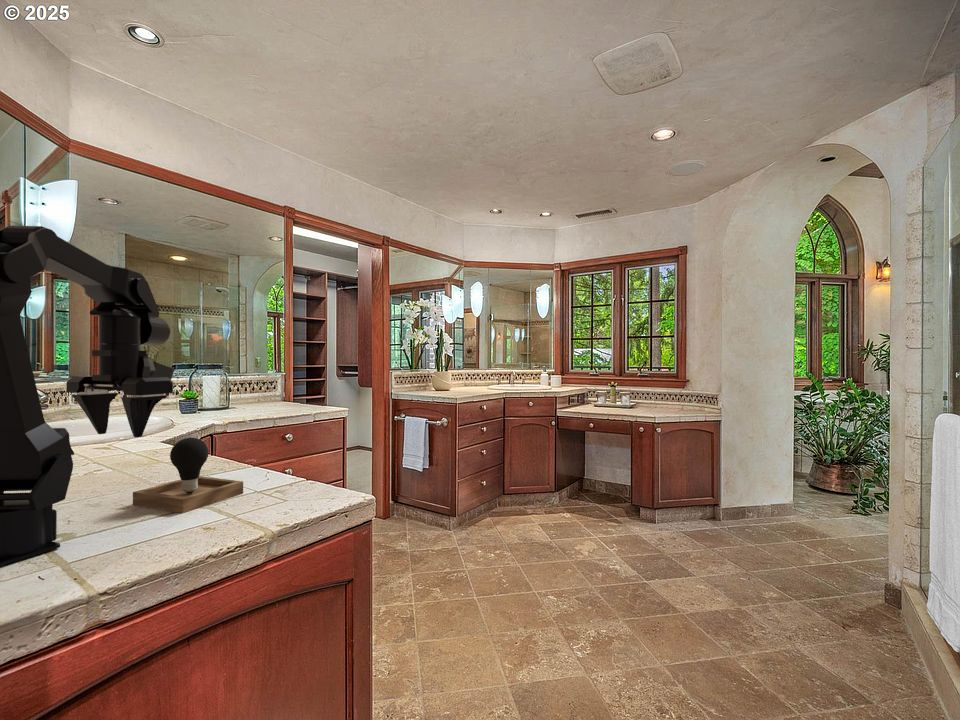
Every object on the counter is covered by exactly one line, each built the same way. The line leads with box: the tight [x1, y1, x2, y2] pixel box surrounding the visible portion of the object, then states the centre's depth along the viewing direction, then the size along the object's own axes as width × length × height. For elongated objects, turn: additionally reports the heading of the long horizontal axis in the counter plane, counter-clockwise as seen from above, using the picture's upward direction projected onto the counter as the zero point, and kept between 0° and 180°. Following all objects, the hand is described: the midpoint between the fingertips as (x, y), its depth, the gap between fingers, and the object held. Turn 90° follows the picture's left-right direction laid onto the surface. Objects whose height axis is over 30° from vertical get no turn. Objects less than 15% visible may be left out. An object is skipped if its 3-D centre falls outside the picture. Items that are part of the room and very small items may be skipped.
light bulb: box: [169, 437, 209, 494], centre depth 84 cm, size 6×6×10 cm
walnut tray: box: [132, 475, 244, 514], centre depth 84 cm, size 12×12×2 cm
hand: (119, 435), depth 80 cm, fingers open, 9 cm apart
